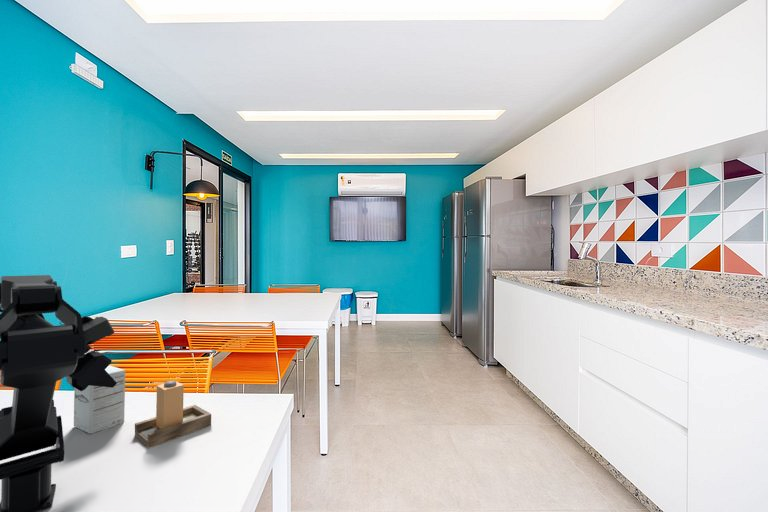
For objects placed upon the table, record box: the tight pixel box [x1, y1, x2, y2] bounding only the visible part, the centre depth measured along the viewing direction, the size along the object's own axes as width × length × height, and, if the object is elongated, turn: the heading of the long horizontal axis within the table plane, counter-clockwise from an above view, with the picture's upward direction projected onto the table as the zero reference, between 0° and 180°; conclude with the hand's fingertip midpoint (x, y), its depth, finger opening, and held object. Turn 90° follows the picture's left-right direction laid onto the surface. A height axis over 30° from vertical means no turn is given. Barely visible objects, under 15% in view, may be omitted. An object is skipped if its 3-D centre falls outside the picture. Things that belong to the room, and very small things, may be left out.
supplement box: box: [73, 364, 126, 435], centre depth 85 cm, size 7×7×13 cm
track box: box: [134, 404, 212, 449], centre depth 83 cm, size 13×8×3 cm, turn 143°
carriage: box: [155, 380, 185, 429], centre depth 82 cm, size 4×4×10 cm
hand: (114, 385), depth 74 cm, fingers closed
